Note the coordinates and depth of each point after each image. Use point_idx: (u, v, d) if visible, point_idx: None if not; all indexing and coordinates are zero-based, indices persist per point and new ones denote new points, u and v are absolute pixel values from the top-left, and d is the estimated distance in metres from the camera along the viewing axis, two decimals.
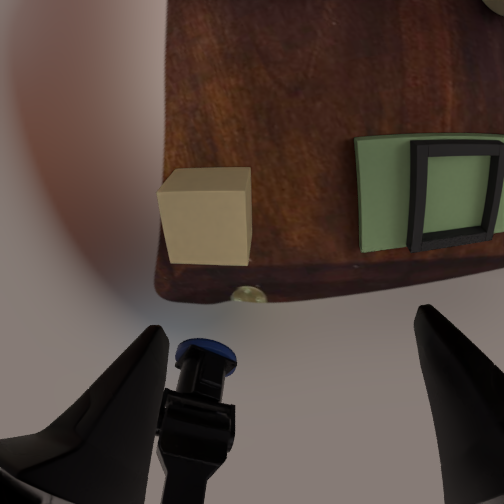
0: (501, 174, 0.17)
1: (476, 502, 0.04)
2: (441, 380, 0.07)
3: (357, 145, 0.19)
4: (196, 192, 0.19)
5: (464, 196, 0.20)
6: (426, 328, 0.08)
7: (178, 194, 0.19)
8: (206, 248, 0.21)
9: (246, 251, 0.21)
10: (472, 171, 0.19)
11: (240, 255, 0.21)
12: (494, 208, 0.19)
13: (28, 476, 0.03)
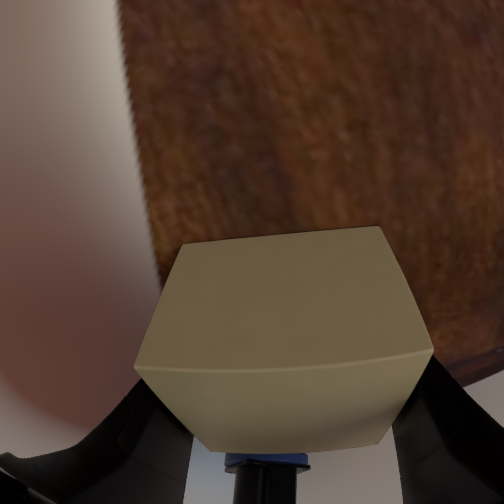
0: None
1: None
2: None
3: None
4: (270, 374, 0.05)
5: None
6: None
7: (205, 377, 0.05)
8: (293, 441, 0.08)
9: (384, 432, 0.07)
10: None
11: (368, 438, 0.07)
12: None
13: (73, 501, 0.03)
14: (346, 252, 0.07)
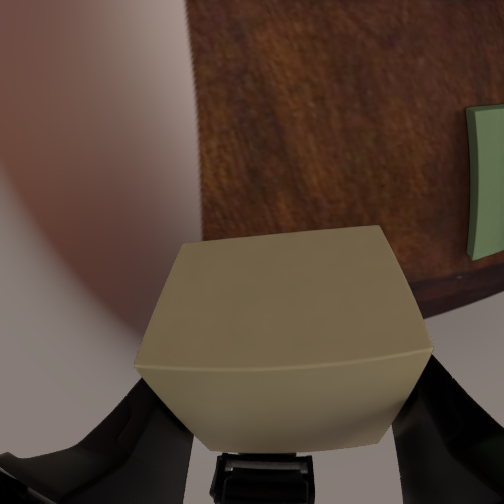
0: None
1: None
2: None
3: (475, 118, 0.11)
4: (270, 373, 0.05)
5: None
6: None
7: (205, 375, 0.05)
8: (293, 441, 0.08)
9: (384, 432, 0.07)
10: None
11: (369, 438, 0.07)
12: None
13: (73, 501, 0.03)
14: (346, 251, 0.07)
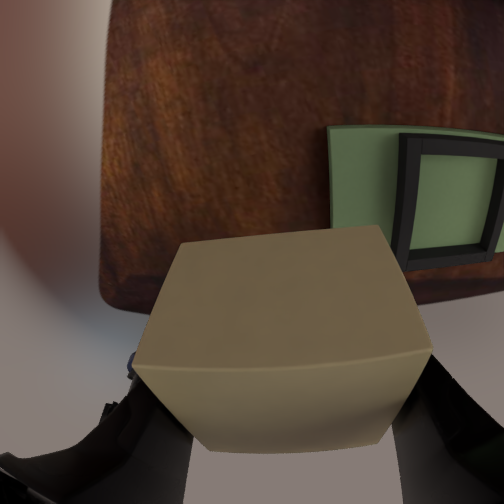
0: None
1: None
2: None
3: (330, 135, 0.15)
4: (268, 373, 0.05)
5: (463, 207, 0.17)
6: None
7: (203, 375, 0.05)
8: (292, 441, 0.07)
9: (384, 432, 0.07)
10: (474, 177, 0.16)
11: (368, 438, 0.07)
12: (498, 223, 0.16)
13: (73, 501, 0.03)
14: (345, 251, 0.07)
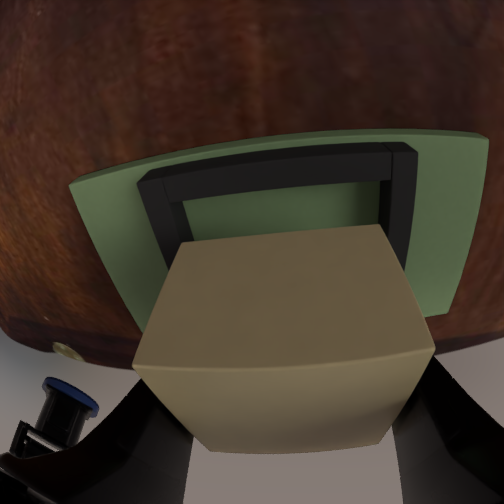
0: (403, 223, 0.10)
1: None
2: None
3: (72, 191, 0.11)
4: (270, 373, 0.05)
5: None
6: None
7: (203, 376, 0.05)
8: (292, 441, 0.07)
9: (385, 432, 0.07)
10: (327, 216, 0.11)
11: (369, 438, 0.07)
12: None
13: (73, 501, 0.03)
14: (346, 250, 0.07)
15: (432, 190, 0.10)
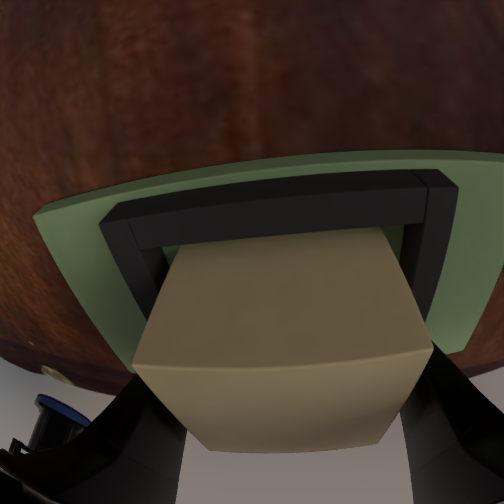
0: (431, 272, 0.07)
1: None
2: None
3: (37, 223, 0.09)
4: (268, 373, 0.05)
5: None
6: None
7: (203, 375, 0.05)
8: (292, 441, 0.07)
9: (384, 432, 0.07)
10: None
11: (368, 438, 0.07)
12: None
13: (63, 496, 0.03)
14: (345, 250, 0.07)
15: (464, 225, 0.08)
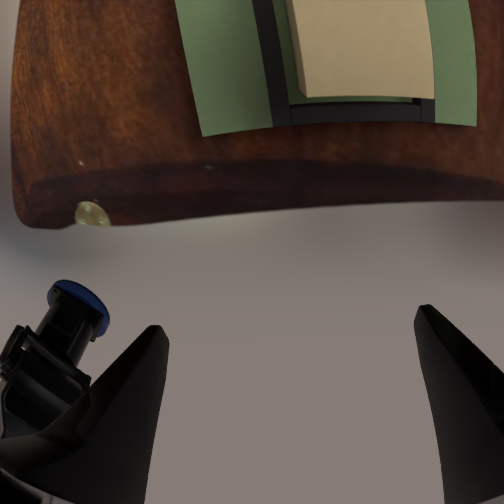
0: None
1: (476, 502, 0.04)
2: (441, 380, 0.07)
3: None
4: None
5: None
6: (426, 328, 0.08)
7: None
8: (374, 62, 0.10)
9: (432, 72, 0.09)
10: None
11: (424, 78, 0.09)
12: None
13: (28, 476, 0.03)
14: None
15: (436, 9, 0.10)
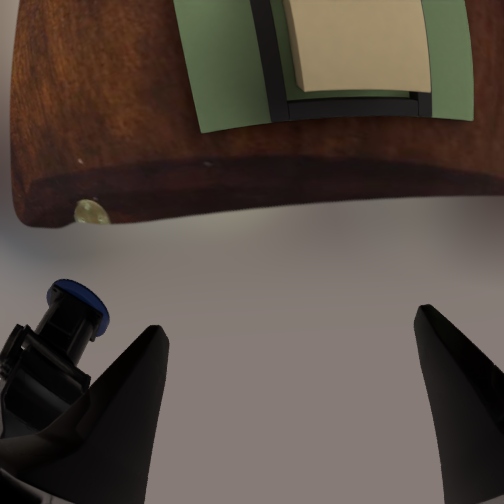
0: None
1: (476, 502, 0.04)
2: (441, 380, 0.07)
3: None
4: None
5: None
6: (426, 328, 0.08)
7: None
8: (370, 56, 0.10)
9: (428, 65, 0.09)
10: None
11: (420, 71, 0.10)
12: None
13: (28, 476, 0.03)
14: None
15: (431, 5, 0.10)
